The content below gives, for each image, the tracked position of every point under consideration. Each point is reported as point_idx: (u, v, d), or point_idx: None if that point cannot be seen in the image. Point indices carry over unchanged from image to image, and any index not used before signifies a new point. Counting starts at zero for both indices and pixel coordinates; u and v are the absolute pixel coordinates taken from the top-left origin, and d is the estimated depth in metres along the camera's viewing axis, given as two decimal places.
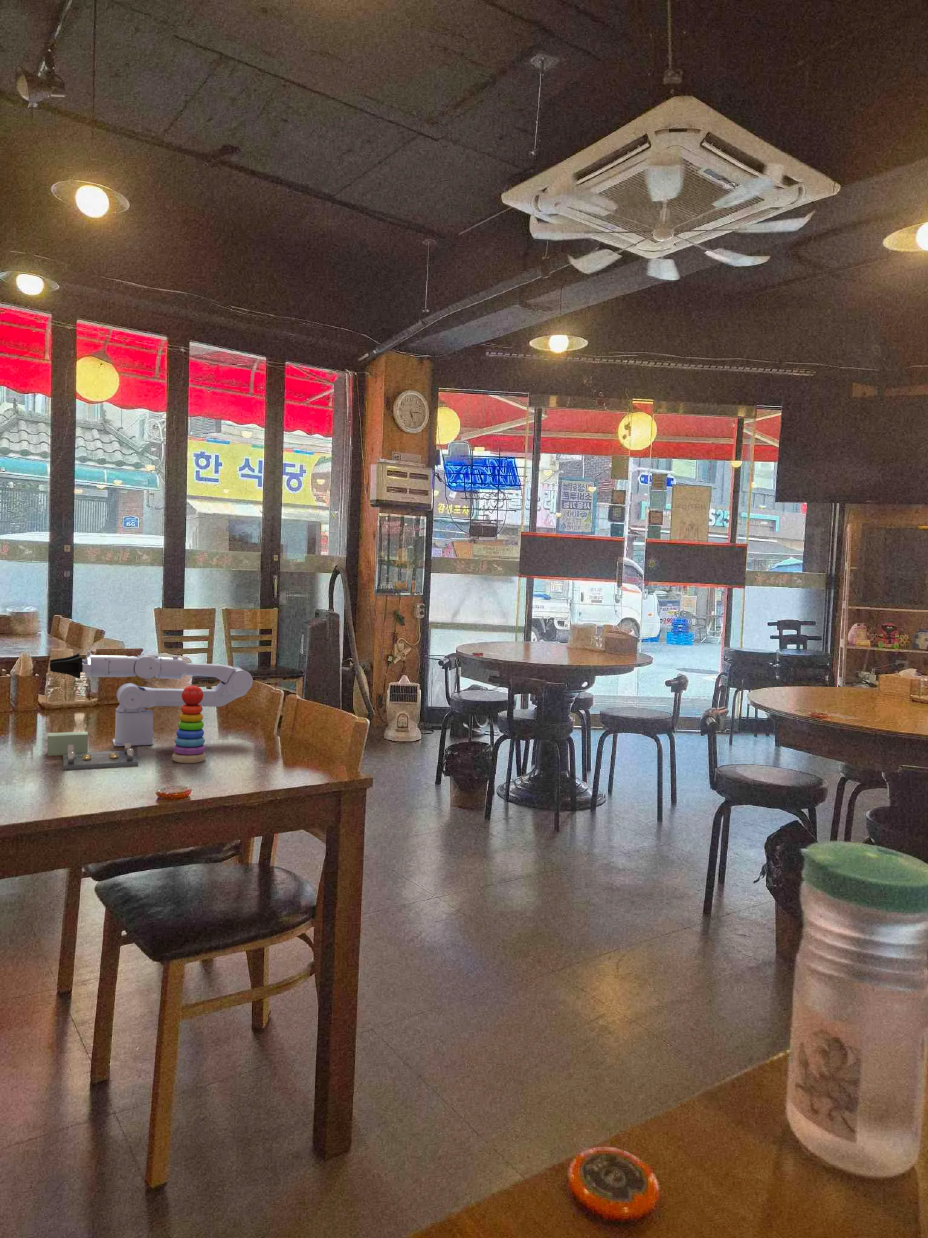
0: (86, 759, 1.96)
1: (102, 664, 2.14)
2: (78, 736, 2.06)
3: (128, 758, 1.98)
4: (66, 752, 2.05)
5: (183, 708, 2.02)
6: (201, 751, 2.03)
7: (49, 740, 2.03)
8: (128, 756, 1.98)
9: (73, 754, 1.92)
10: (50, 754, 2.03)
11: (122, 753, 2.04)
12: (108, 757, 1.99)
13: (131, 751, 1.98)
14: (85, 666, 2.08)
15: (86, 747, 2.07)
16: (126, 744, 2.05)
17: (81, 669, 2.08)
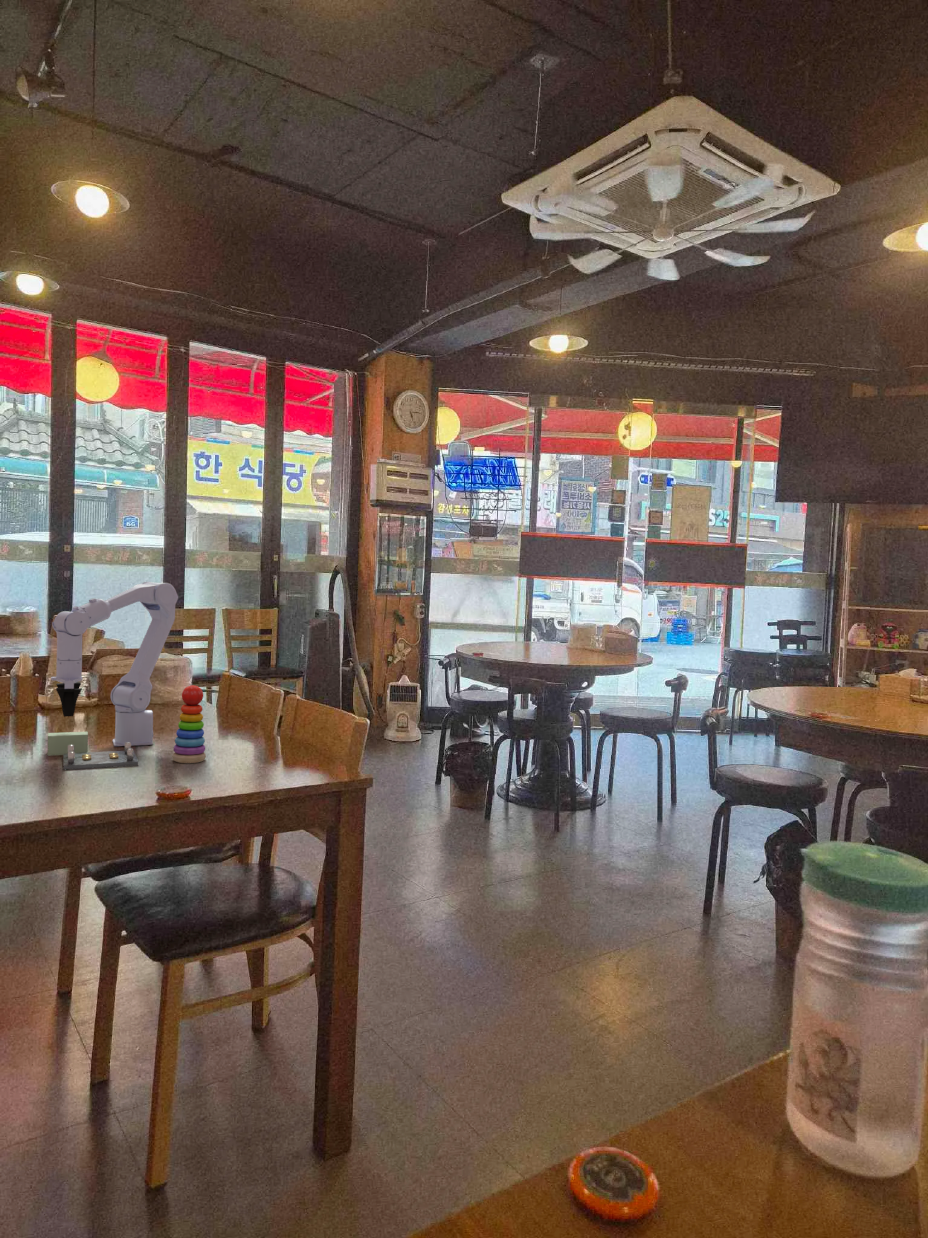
0: (86, 759, 1.96)
1: (66, 666, 2.03)
2: (78, 736, 2.06)
3: (128, 758, 1.98)
4: (66, 752, 2.05)
5: (183, 708, 2.02)
6: (201, 751, 2.03)
7: (49, 740, 2.03)
8: (128, 756, 1.98)
9: (73, 754, 1.92)
10: (50, 754, 2.03)
11: (122, 753, 2.04)
12: (108, 757, 1.99)
13: (131, 751, 1.98)
14: (66, 686, 1.99)
15: (86, 747, 2.07)
16: (126, 744, 2.05)
17: (70, 689, 2.00)
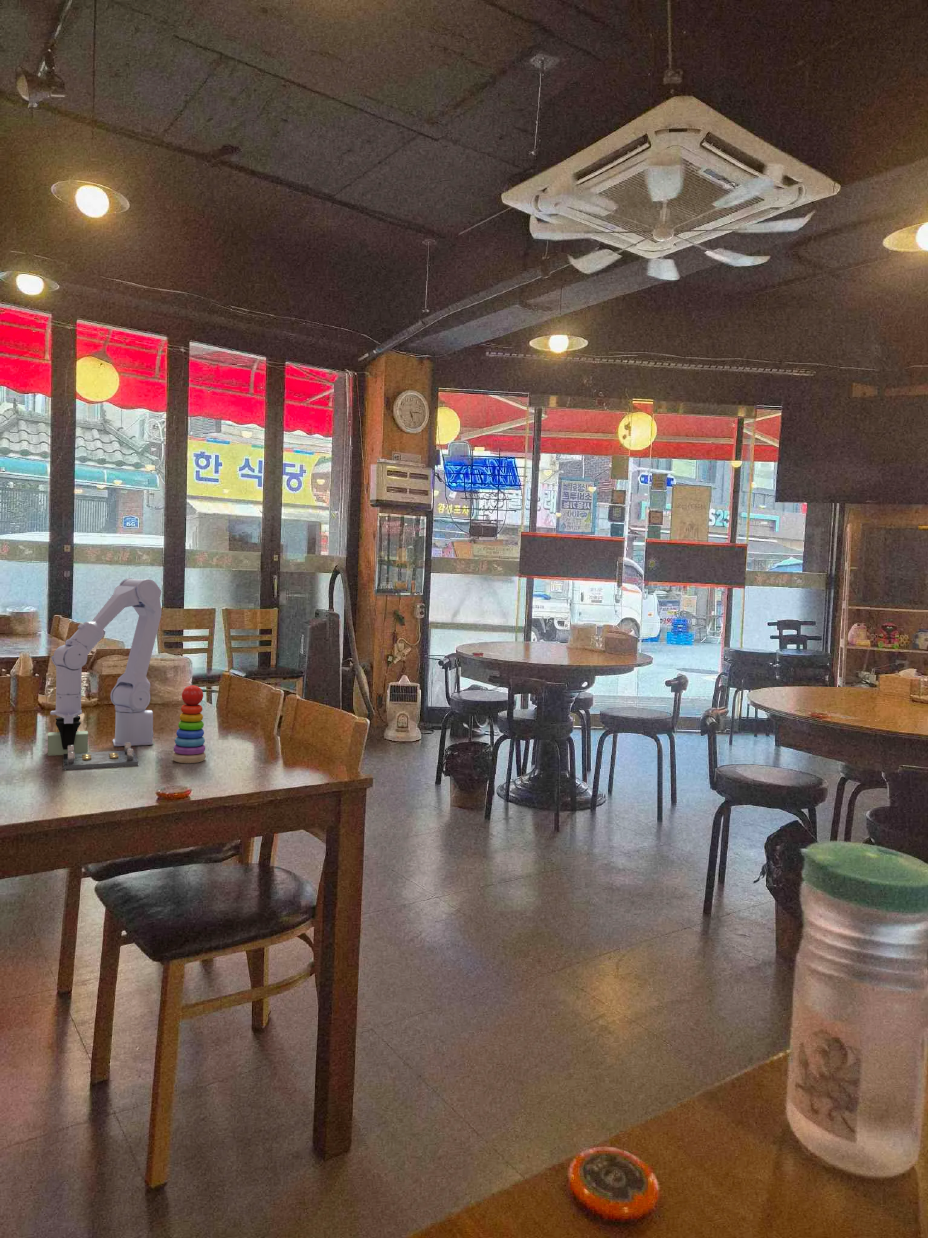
0: (86, 759, 1.96)
1: (65, 701, 2.03)
2: (78, 735, 2.06)
3: (128, 758, 1.98)
4: (66, 751, 2.05)
5: (183, 708, 2.02)
6: (201, 751, 2.03)
7: (49, 739, 2.03)
8: (128, 756, 1.98)
9: (73, 754, 1.92)
10: (50, 753, 2.03)
11: (122, 753, 2.04)
12: (108, 757, 1.99)
13: (131, 751, 1.98)
14: (66, 721, 1.99)
15: (86, 746, 2.07)
16: (126, 744, 2.05)
17: (69, 722, 2.02)
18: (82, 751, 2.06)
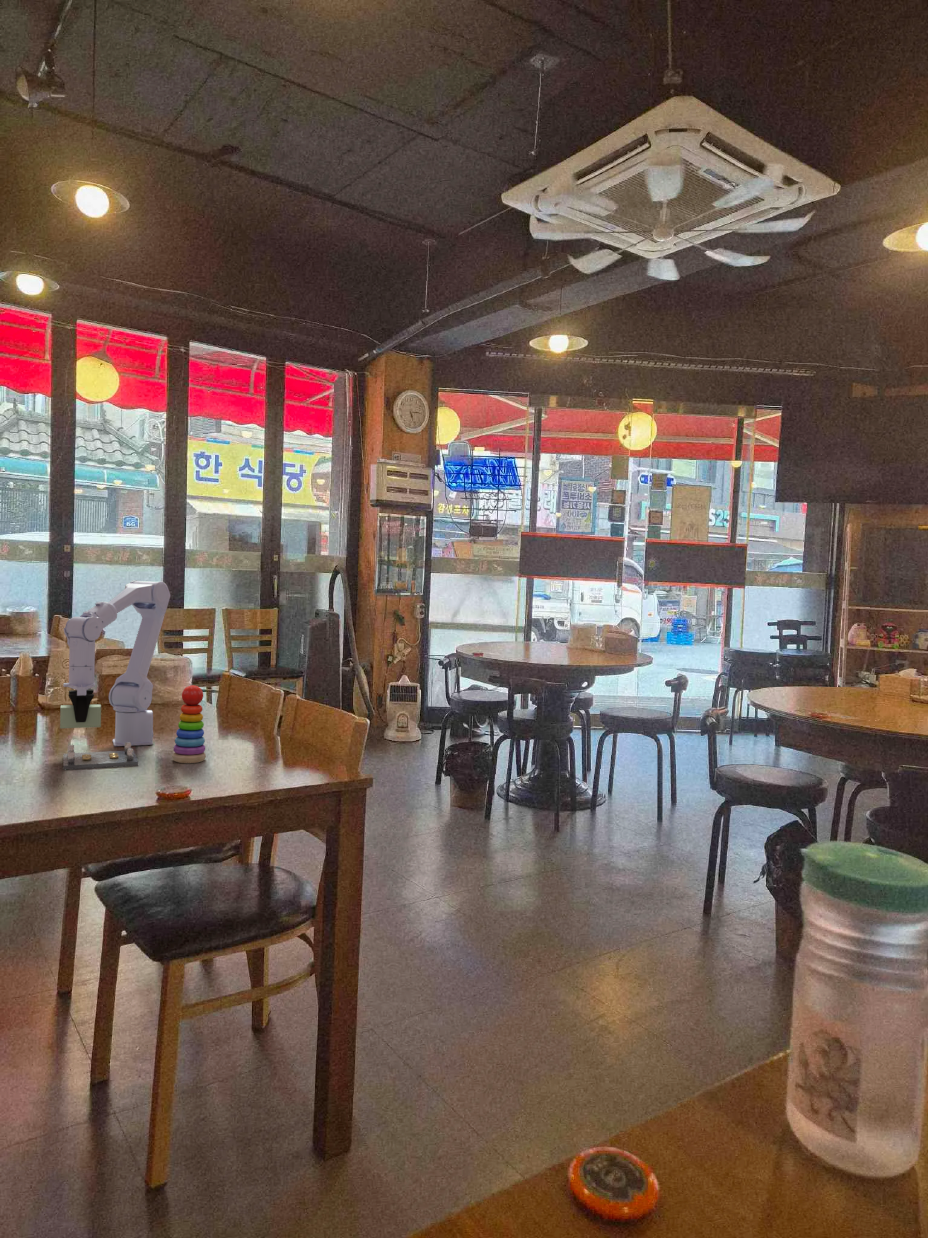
0: (86, 759, 1.96)
1: (79, 673, 2.00)
2: (91, 708, 2.02)
3: (128, 758, 1.98)
4: (79, 724, 2.01)
5: (183, 708, 2.02)
6: (201, 751, 2.03)
7: (62, 712, 1.99)
8: (128, 756, 1.98)
9: (73, 754, 1.92)
10: (63, 726, 2.00)
11: (122, 753, 2.04)
12: (108, 757, 1.99)
13: (131, 751, 1.98)
14: (79, 693, 1.96)
15: (99, 720, 2.03)
16: (126, 744, 2.05)
17: (83, 694, 1.99)
18: (95, 724, 2.03)
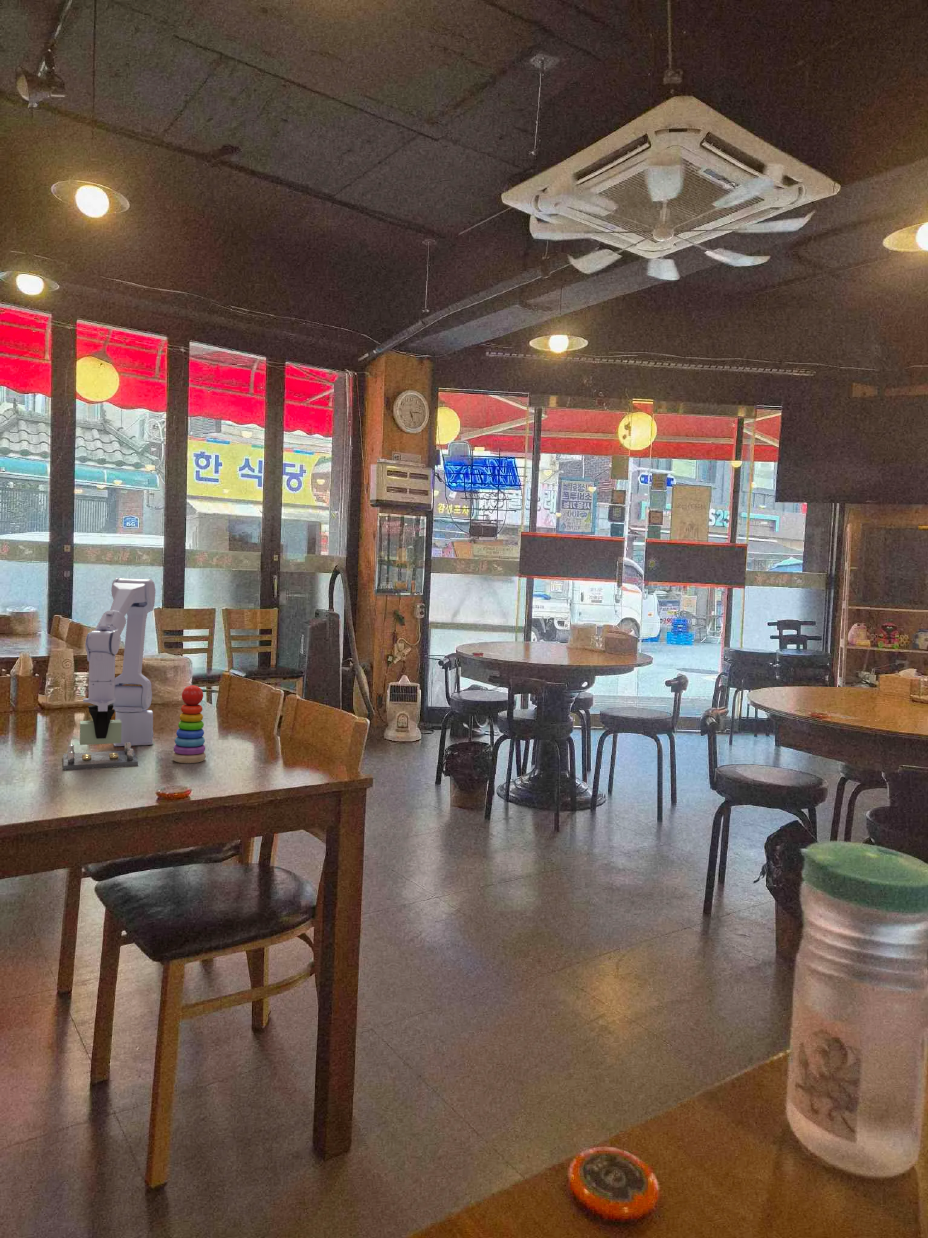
0: (86, 759, 1.96)
1: (99, 688, 1.95)
2: (111, 724, 1.98)
3: (128, 758, 1.98)
4: (99, 741, 1.97)
5: (183, 708, 2.02)
6: (201, 751, 2.03)
7: (82, 728, 1.95)
8: (128, 756, 1.98)
9: (73, 754, 1.92)
10: (83, 743, 1.95)
11: (122, 753, 2.04)
12: (108, 757, 1.99)
13: (131, 751, 1.98)
14: (100, 708, 1.92)
15: (120, 736, 1.99)
16: (126, 744, 2.05)
17: (103, 710, 1.94)
18: (115, 740, 1.98)
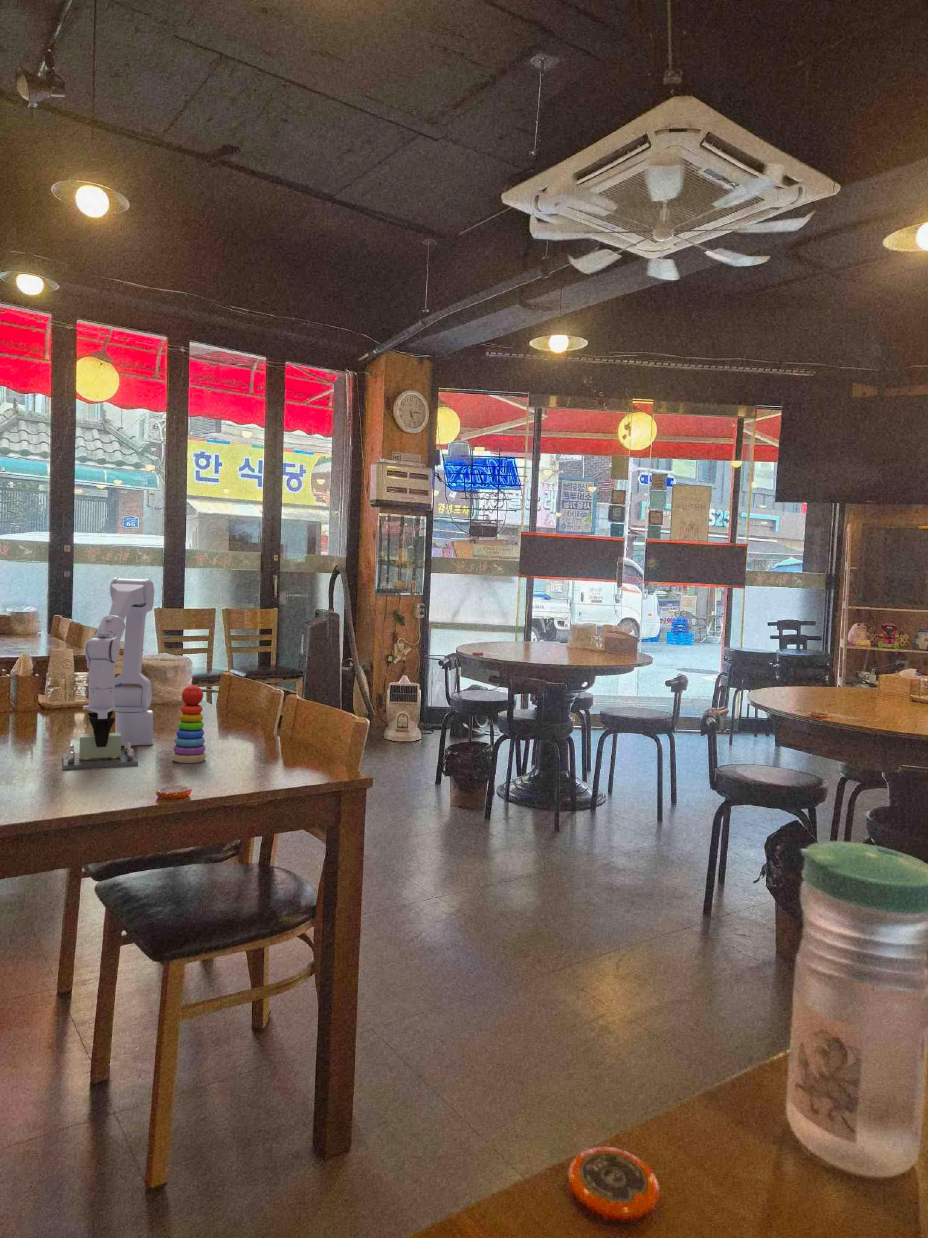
0: (86, 759, 1.96)
1: (99, 695, 1.95)
2: (111, 737, 1.98)
3: (128, 758, 1.98)
4: (99, 754, 1.97)
5: (183, 708, 2.02)
6: (201, 751, 2.03)
7: (81, 741, 1.95)
8: (128, 756, 1.98)
9: (73, 754, 1.92)
10: (82, 756, 1.95)
11: (122, 753, 2.04)
12: (108, 757, 1.99)
13: (131, 751, 1.98)
14: (100, 716, 1.92)
15: (119, 749, 1.99)
16: (126, 744, 2.05)
17: (103, 719, 1.93)
18: (115, 754, 1.99)
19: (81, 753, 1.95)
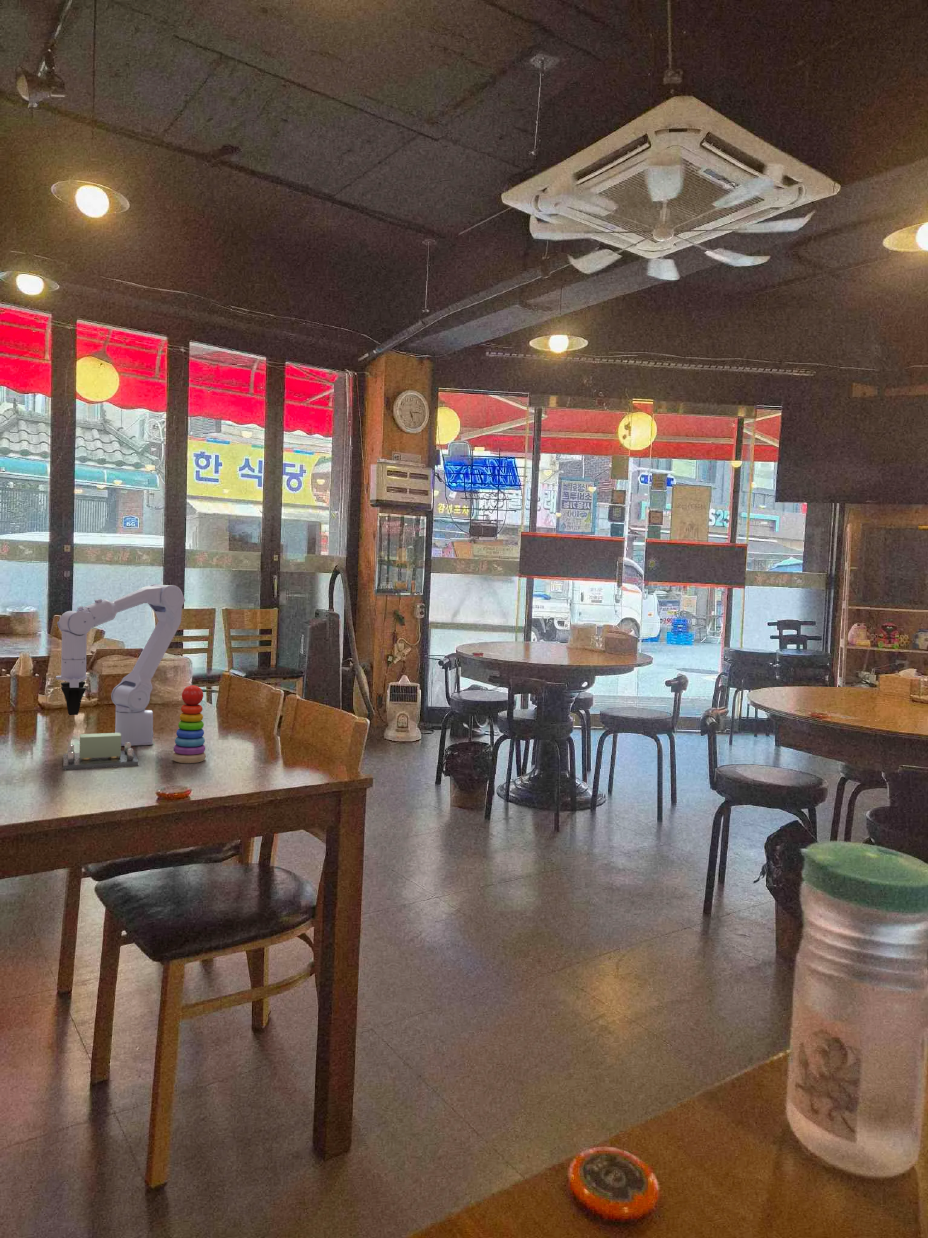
0: (86, 759, 1.96)
1: (71, 666, 2.05)
2: (111, 737, 1.98)
3: (128, 758, 1.98)
4: (99, 754, 1.97)
5: (183, 708, 2.02)
6: (201, 751, 2.03)
7: (81, 741, 1.95)
8: (128, 756, 1.98)
9: (73, 754, 1.92)
10: (82, 756, 1.95)
11: (122, 753, 2.04)
12: (108, 757, 1.99)
13: (131, 751, 1.98)
14: (71, 685, 2.01)
15: (119, 749, 1.99)
16: (126, 744, 2.05)
17: (75, 688, 2.03)
18: (115, 754, 1.99)
19: (81, 753, 1.95)
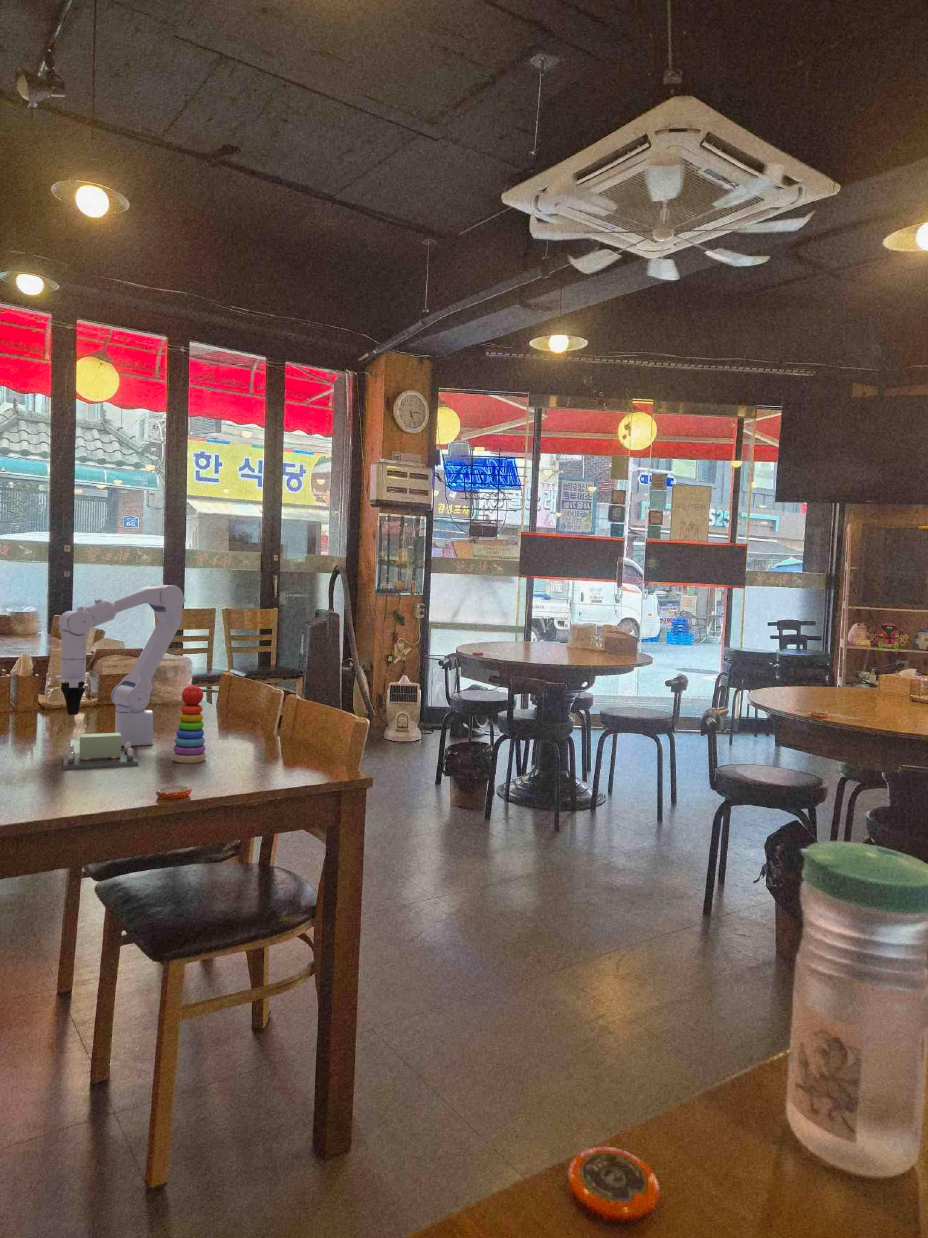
0: (86, 759, 1.96)
1: (70, 666, 2.05)
2: (111, 737, 1.98)
3: (128, 758, 1.98)
4: (99, 754, 1.97)
5: (183, 708, 2.02)
6: (201, 751, 2.03)
7: (81, 741, 1.95)
8: (128, 756, 1.98)
9: (73, 754, 1.92)
10: (82, 756, 1.95)
11: (122, 753, 2.04)
12: (108, 757, 1.99)
13: (131, 751, 1.98)
14: (71, 685, 2.01)
15: (119, 749, 1.99)
16: (126, 744, 2.05)
17: (74, 687, 2.03)
18: (115, 754, 1.99)
19: (81, 753, 1.95)
